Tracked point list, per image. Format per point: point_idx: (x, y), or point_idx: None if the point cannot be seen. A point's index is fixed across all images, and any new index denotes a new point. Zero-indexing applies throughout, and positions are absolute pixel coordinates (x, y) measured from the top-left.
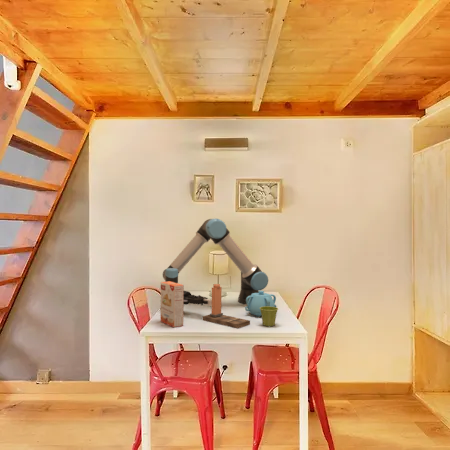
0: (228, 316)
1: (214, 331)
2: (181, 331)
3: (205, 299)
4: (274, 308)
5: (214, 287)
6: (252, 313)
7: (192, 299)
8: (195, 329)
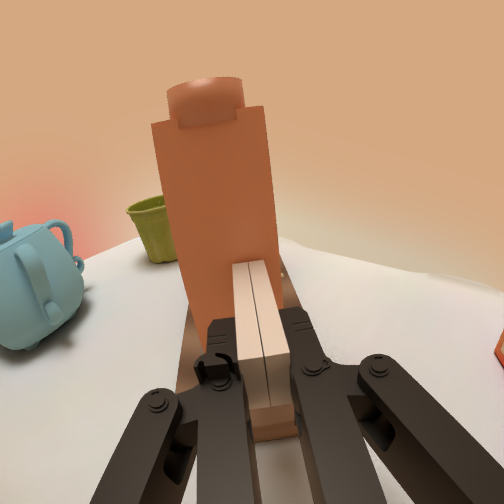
0: (194, 326)
1: (377, 266)
2: (496, 295)
3: (276, 327)
4: (132, 210)
5: (244, 107)
6: (69, 314)
7: (472, 439)
8: (443, 298)
